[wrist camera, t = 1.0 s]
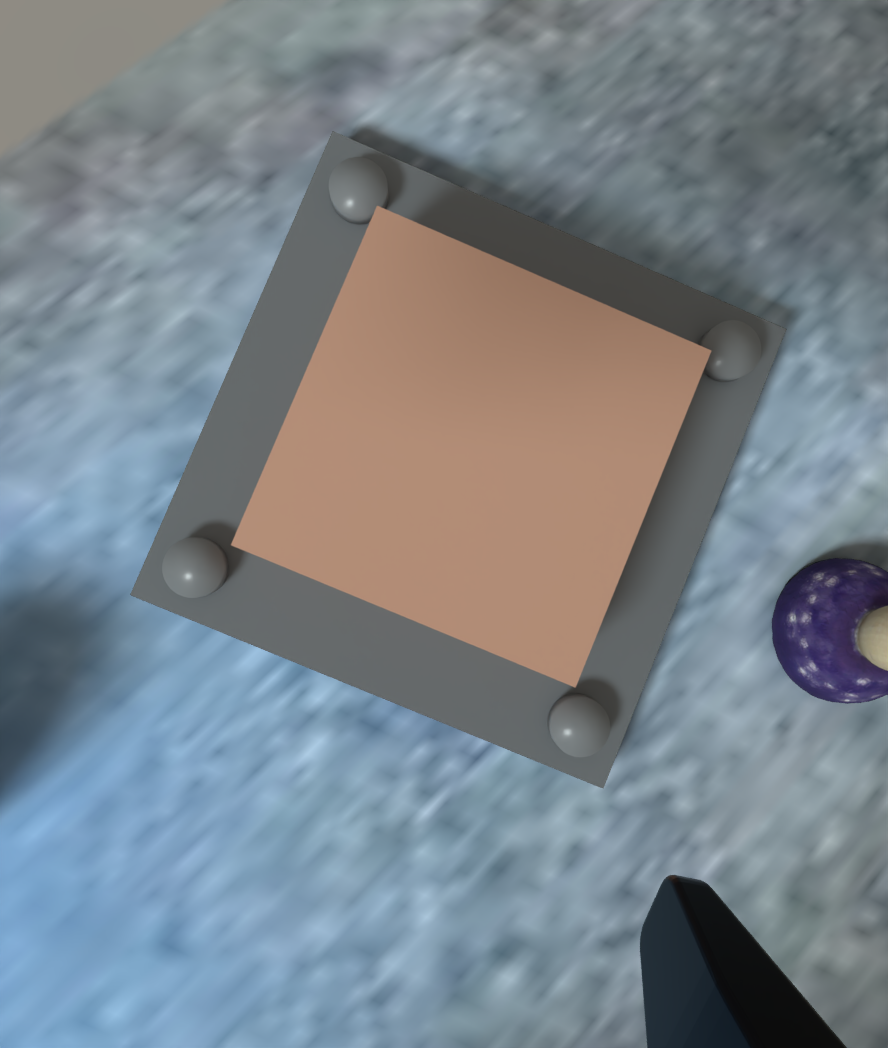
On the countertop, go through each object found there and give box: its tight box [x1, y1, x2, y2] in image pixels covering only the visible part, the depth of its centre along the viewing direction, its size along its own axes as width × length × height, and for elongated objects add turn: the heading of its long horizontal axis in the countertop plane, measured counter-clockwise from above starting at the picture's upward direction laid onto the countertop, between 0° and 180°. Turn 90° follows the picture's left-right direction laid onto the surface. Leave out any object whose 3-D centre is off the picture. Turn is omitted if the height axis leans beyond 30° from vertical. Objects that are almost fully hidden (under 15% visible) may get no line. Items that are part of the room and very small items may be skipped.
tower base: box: [130, 131, 786, 788], centre depth 20 cm, size 14×14×4 cm
